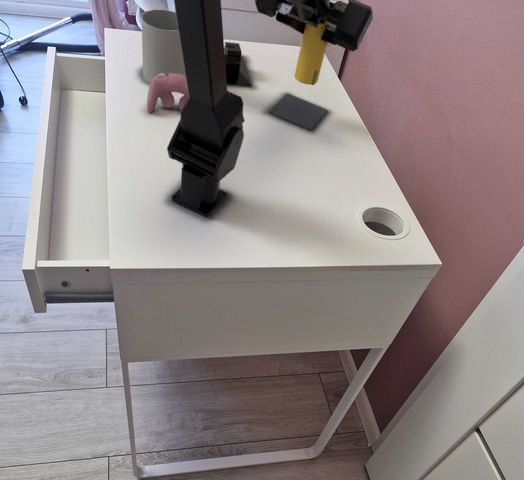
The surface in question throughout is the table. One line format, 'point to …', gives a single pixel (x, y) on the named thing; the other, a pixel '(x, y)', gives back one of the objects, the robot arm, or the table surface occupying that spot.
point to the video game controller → (167, 90)
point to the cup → (161, 44)
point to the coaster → (298, 111)
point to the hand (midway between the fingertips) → (318, 38)
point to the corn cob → (310, 55)
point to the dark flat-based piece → (235, 66)
